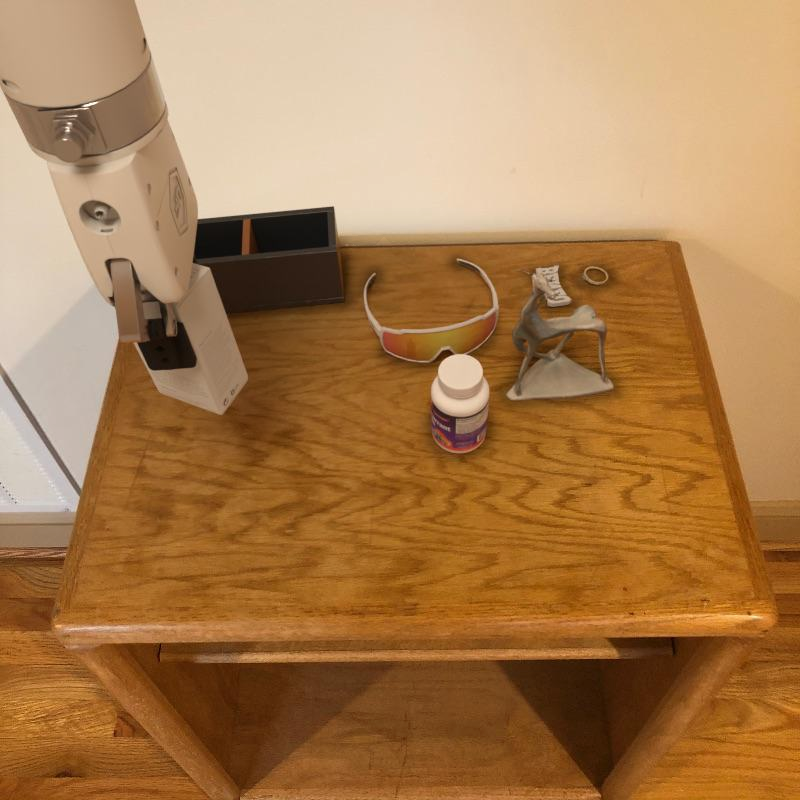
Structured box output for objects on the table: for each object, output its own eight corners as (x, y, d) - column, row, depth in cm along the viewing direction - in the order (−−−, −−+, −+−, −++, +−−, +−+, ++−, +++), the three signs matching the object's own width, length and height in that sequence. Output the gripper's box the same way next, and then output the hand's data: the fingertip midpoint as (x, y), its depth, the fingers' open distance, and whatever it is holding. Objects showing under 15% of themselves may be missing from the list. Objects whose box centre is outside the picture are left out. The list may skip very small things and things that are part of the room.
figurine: (605, 347, 82) (632, 240, 70) (615, 397, 79) (646, 292, 66) (501, 351, 83) (510, 245, 71) (506, 400, 79) (517, 296, 67)
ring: (613, 278, 87) (589, 282, 87) (610, 284, 88) (587, 289, 87) (602, 262, 89) (578, 266, 88) (600, 268, 90) (576, 272, 89)
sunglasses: (379, 378, 81) (375, 342, 77) (358, 292, 92) (353, 256, 88) (512, 354, 82) (513, 317, 79) (475, 271, 93) (475, 236, 89)
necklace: (556, 265, 90) (514, 270, 89) (557, 261, 89) (515, 266, 89) (573, 307, 86) (529, 312, 85) (574, 303, 85) (529, 308, 85)
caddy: (173, 318, 88) (152, 268, 81) (178, 273, 92) (159, 222, 86) (344, 302, 88) (336, 250, 82) (341, 258, 92) (334, 205, 86)
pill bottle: (423, 420, 78) (420, 358, 70) (472, 403, 79) (475, 340, 71) (444, 463, 75) (444, 403, 67) (495, 444, 76) (501, 383, 68)
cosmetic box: (251, 377, 61) (217, 263, 52) (221, 420, 59) (179, 309, 49) (185, 355, 63) (140, 240, 53) (153, 396, 60) (100, 283, 51)
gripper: (139, 201, 36) (224, 423, 50) (177, 10, 46) (238, 241, 61) (-25, 213, 36) (107, 432, 50) (49, 19, 46) (141, 248, 60)
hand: (178, 326), depth 55 cm, fingers closed on cosmetic box, 6 cm apart
